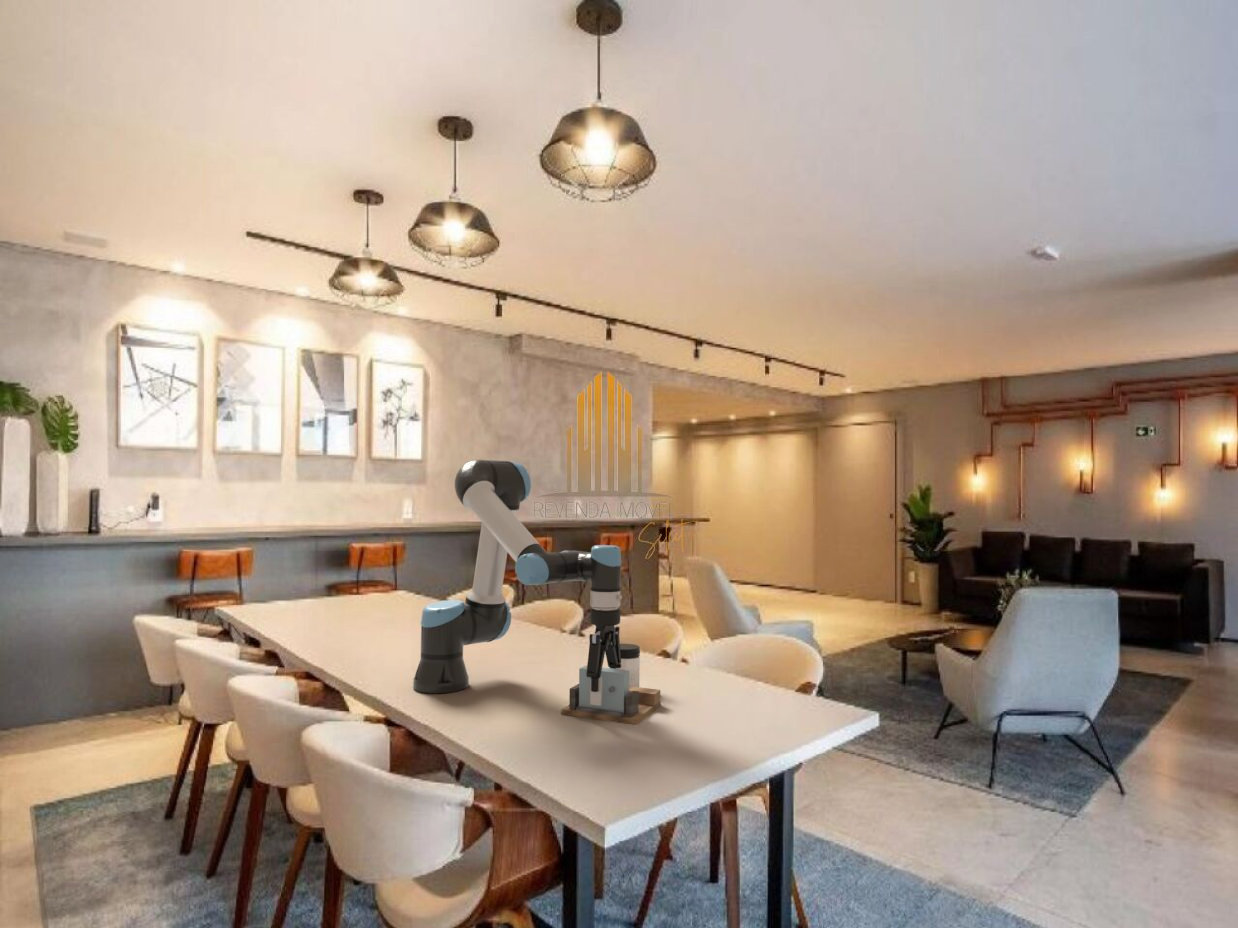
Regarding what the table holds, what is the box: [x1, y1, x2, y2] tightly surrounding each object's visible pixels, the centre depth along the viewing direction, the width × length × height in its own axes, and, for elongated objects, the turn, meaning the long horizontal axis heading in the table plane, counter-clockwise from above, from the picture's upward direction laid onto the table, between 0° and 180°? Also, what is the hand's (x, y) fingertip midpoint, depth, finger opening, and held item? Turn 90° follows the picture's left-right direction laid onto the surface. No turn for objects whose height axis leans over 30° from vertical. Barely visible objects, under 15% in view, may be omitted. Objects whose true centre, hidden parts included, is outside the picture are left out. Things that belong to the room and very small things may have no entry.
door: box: [578, 665, 629, 715], centre depth 178 cm, size 12×4×10 cm, turn 68°
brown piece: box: [560, 683, 662, 726], centre depth 183 cm, size 20×18×6 cm
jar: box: [617, 643, 641, 687], centre depth 202 cm, size 9×8×12 cm
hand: (603, 699), depth 178 cm, fingers open, 9 cm apart
